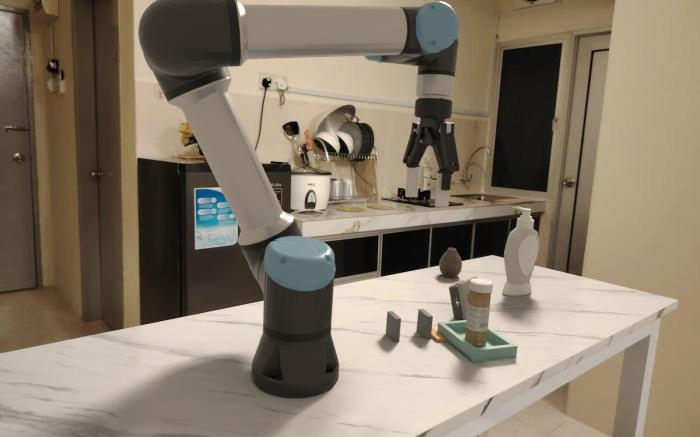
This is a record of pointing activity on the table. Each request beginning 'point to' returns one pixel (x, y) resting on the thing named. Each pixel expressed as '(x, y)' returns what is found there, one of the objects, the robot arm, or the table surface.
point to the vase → (450, 263)
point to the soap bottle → (520, 255)
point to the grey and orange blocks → (422, 326)
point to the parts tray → (493, 349)
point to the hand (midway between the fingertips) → (425, 201)
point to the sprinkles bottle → (478, 311)
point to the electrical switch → (460, 298)
